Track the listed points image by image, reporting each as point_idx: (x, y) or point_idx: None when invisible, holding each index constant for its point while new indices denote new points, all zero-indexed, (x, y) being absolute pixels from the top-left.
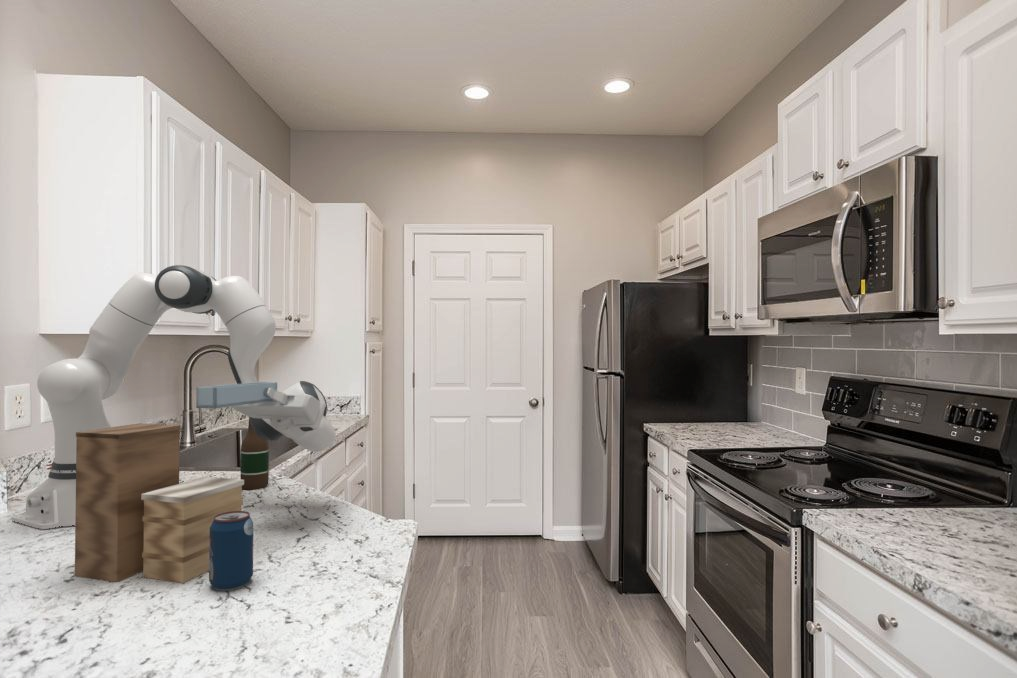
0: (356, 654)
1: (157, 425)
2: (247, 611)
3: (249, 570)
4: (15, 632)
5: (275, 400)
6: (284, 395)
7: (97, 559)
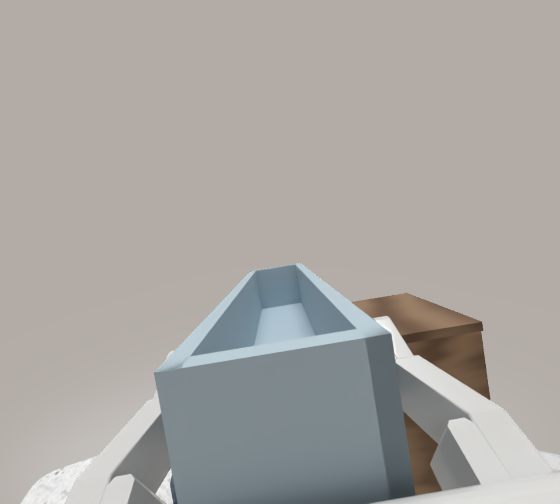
0: (48, 484)
1: (403, 327)
2: (161, 499)
3: None
4: None
5: (167, 469)
6: (79, 497)
7: None
